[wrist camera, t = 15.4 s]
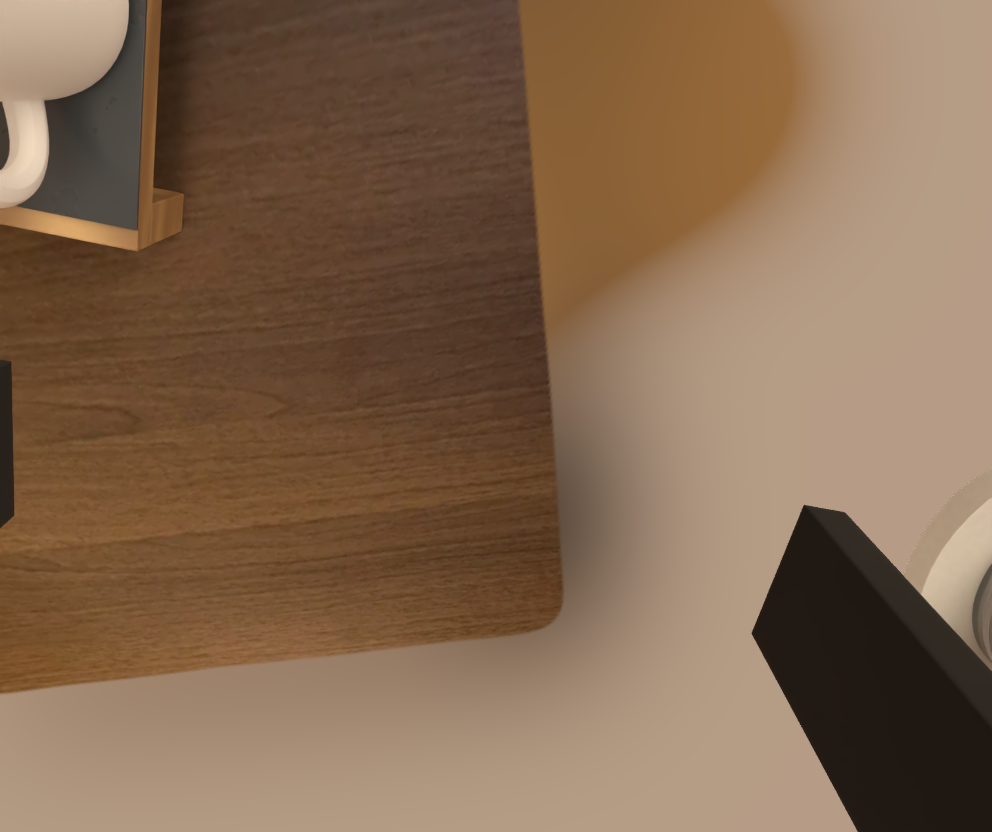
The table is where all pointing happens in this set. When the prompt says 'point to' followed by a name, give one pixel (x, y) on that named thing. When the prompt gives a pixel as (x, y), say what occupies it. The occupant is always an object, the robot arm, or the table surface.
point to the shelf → (105, 153)
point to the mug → (49, 74)
